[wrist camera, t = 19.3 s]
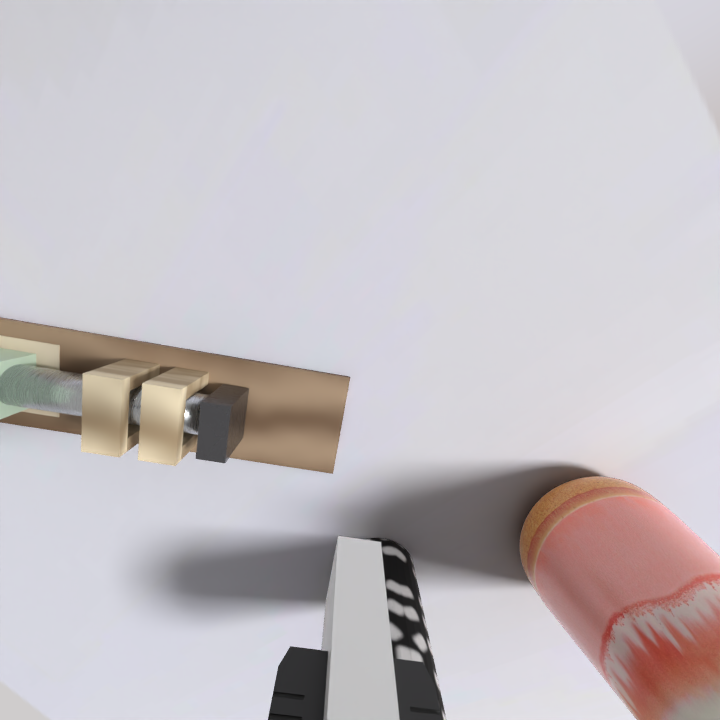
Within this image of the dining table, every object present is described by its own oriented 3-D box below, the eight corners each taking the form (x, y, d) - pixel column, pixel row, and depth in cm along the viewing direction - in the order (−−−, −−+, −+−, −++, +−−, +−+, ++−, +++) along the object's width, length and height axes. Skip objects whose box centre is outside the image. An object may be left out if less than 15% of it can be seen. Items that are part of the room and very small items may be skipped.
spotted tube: (423, 590, 39) (491, 893, 20) (351, 611, 40) (350, 927, 20) (401, 528, 38) (451, 792, 18) (326, 550, 38) (298, 832, 19)
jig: (-80, 304, 32) (-220, 310, 24) (350, 376, 34) (348, 405, 26) (-72, 408, 34) (-198, 445, 26) (333, 471, 36) (327, 523, 28)
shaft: (34, 352, 32) (-23, 365, 27) (249, 388, 33) (231, 406, 28) (34, 404, 33) (-20, 425, 28) (243, 437, 34) (225, 463, 30)
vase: (496, 484, 37) (1022, 1224, 8) (636, 448, 36) (1757, 1106, 7) (521, 596, 40) (966, 1431, 11) (650, 565, 39) (1483, 1359, 10)
